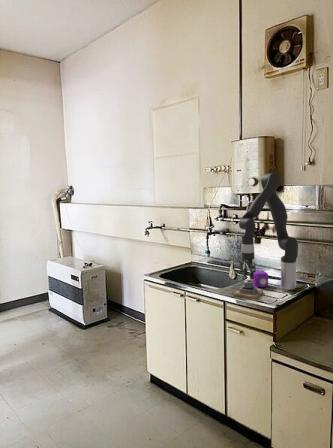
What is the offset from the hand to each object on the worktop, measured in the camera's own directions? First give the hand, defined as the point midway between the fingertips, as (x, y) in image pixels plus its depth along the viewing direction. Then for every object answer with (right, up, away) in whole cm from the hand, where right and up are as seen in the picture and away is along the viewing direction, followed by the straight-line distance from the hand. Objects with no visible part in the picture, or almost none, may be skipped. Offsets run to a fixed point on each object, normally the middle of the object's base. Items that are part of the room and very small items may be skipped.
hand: (248, 277), depth 210 cm
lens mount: (0, -11, +1) cm, 11 cm away
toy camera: (+12, -9, +17) cm, 23 cm away
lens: (0, -9, +1) cm, 9 cm away
